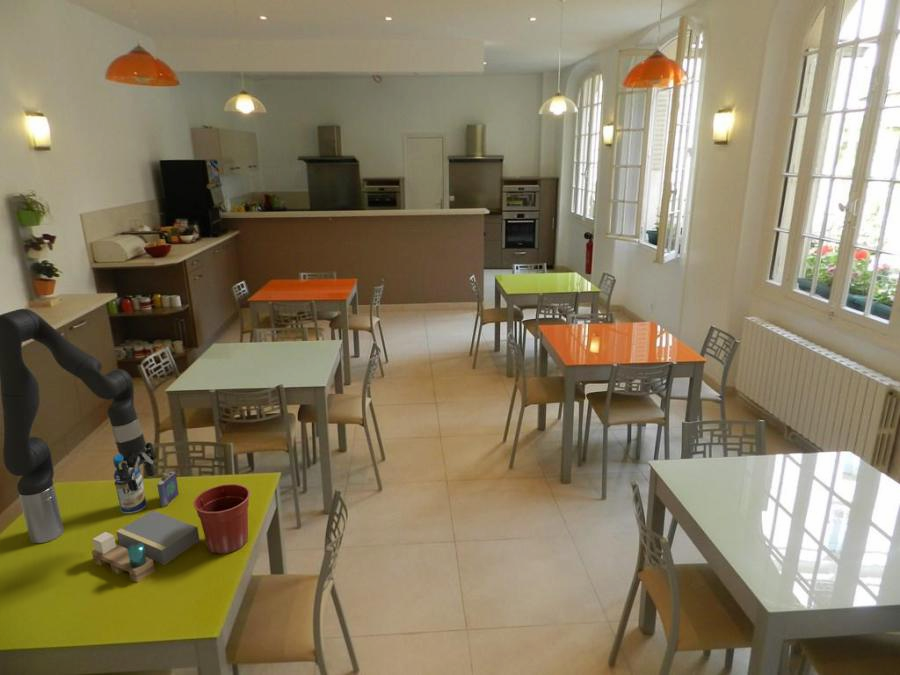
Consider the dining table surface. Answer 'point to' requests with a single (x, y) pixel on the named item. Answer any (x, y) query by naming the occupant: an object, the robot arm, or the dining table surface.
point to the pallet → (123, 563)
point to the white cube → (104, 542)
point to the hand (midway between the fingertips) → (143, 482)
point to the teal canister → (137, 555)
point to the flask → (167, 488)
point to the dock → (159, 536)
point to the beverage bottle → (129, 491)
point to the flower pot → (224, 516)
